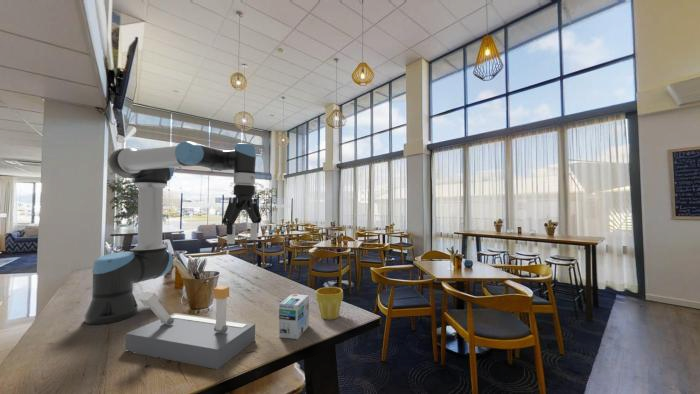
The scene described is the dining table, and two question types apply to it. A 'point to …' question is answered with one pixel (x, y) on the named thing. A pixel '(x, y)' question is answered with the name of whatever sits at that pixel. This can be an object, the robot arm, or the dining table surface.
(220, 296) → the breaker
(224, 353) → the box
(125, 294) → the robot arm
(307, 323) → the light bulb box
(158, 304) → the breaker on
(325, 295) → the plant pot
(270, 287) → the dining table surface
